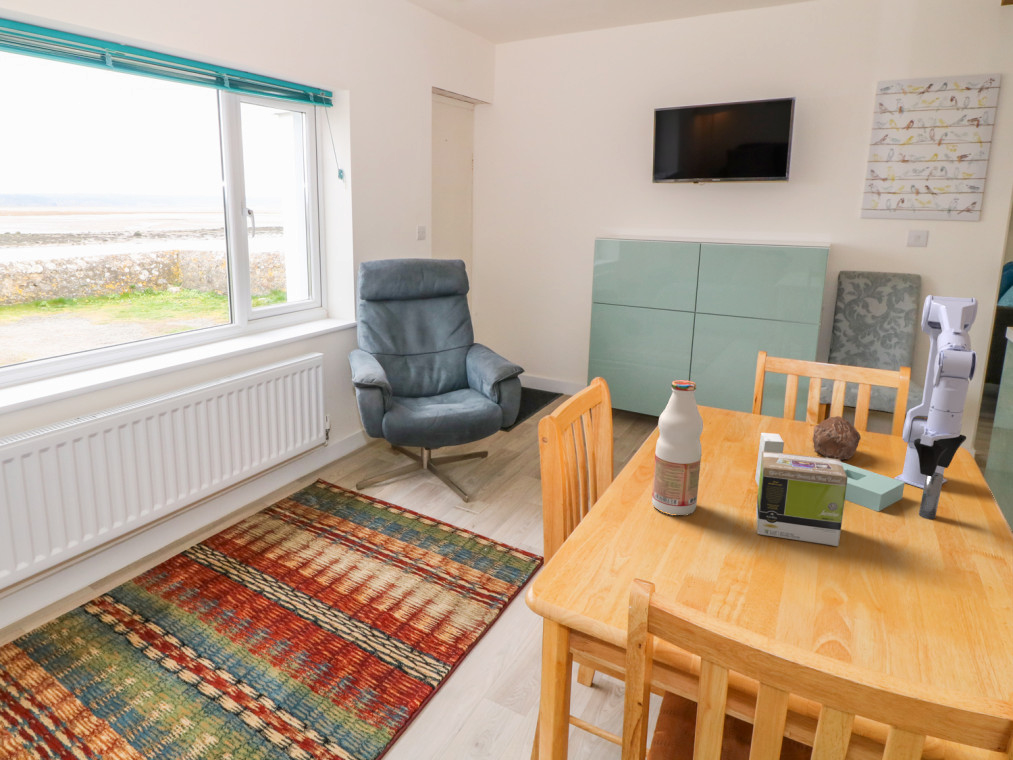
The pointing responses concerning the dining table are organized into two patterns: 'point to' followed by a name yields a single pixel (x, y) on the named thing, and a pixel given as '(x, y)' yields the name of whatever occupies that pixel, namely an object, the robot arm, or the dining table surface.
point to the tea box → (801, 497)
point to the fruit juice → (678, 452)
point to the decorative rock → (836, 438)
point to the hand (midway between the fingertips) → (934, 470)
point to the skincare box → (768, 448)
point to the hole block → (871, 488)
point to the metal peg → (931, 496)
